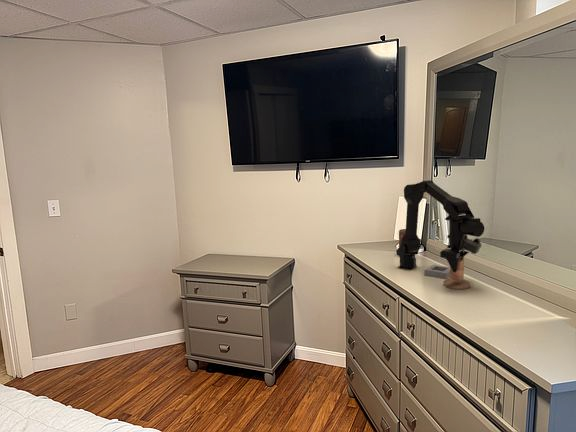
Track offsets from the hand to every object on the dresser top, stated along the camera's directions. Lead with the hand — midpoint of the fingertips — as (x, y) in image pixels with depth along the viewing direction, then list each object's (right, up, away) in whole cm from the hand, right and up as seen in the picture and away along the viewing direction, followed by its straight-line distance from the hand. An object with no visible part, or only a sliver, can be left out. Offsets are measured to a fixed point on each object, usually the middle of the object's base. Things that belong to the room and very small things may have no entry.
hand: (456, 270), depth 154 cm
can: (-6, +1, +48) cm, 48 cm away
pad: (0, -6, +1) cm, 6 cm away
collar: (-1, -4, +15) cm, 16 cm away
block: (0, -3, 0) cm, 4 cm away
